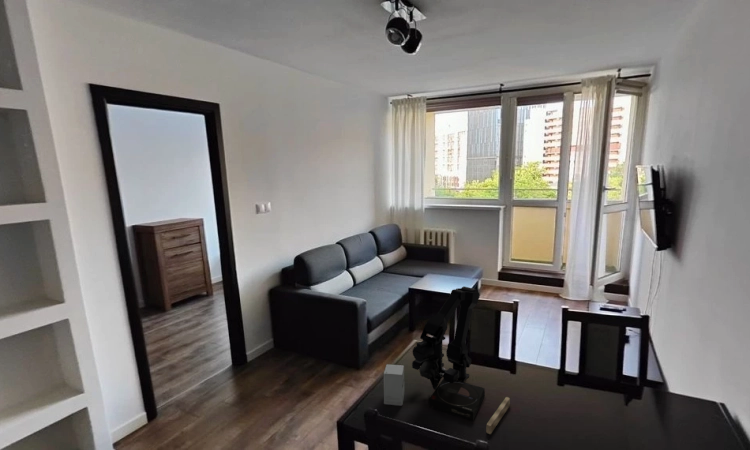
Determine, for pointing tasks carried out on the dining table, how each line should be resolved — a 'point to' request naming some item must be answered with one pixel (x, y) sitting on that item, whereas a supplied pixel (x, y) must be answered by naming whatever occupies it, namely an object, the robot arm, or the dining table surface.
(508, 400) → the oak rail
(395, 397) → the supplement box
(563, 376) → the dining table surface
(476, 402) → the portable cd player
